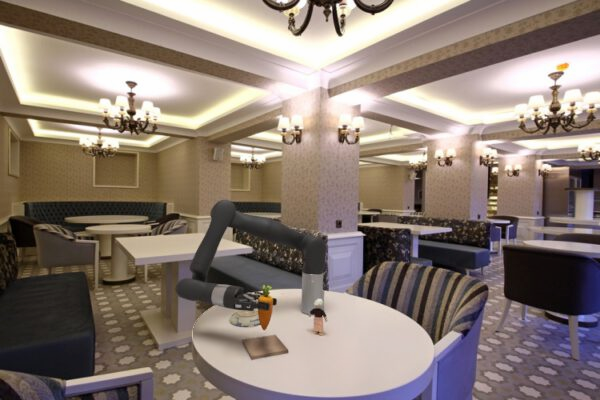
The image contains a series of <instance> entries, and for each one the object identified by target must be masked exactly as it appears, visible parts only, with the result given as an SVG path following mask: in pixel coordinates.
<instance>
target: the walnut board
mask: <svg viewBox="0 0 600 400" xmlns="http://www.w3.org/2000/svg"><path fill="white" fill-rule="evenodd" d="M241 344H242V346H243V347H244V350H245V351H246V352H247V354H248V356H249V358H250V360H252V361H253V360H259V359H263V358H268V357H273V356H279V355H283V354H289V349H288V348H287V346H286V345H285V343H283V341H281V340H280V338H279V337H278V335H276V334H270V335H265V336H264V335H263V336H258V337H252V338H245V339H244V338H243V339H241Z"/></svg>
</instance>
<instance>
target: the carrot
mask: <svg viewBox="0 0 600 400" xmlns="http://www.w3.org/2000/svg"><path fill="white" fill-rule="evenodd" d="M272 288H273V287H272V286H270V285H267V286H266V285H265V284H263V285H262V293H263V294H264V295H262V296H260V297H259V298H258V300H257V301H259V302H266V303H269V304H270V309H269V310H268V311H267V310H262V309H257V311H258V316H259V322H260V324H259V325H260V326H261V329H262V330H263V331H266V330H267V328H268V327H269V324H270V322H271V318H272V314H273V309H274V308H273V307H274V305H273V298H274V297H272V296H271V295H270V294H271V292H270V290H271V289H272ZM259 302H258V303H259Z"/></svg>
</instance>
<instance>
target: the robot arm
mask: <svg viewBox="0 0 600 400" xmlns="http://www.w3.org/2000/svg"><path fill="white" fill-rule="evenodd" d="M209 214H210V215H209V216H210V219H211V220H210V223H209V226H208V228H207V230H206V233H204V234H205V235H204V237H203V238H202V240H201V242H200V244H199V245H198V247H197V250H196V251H195V253H194V256H193V258H192V261H191V262H190V264H189V271H190V272H191V273H192V276H191V278H189V277H185V278H181V279H180V280H179V281H178V282H177V283H176V285H175V288H174V289H175V293H176V295H177V297H179V298H181V299H184V300H187V301H191V302H195V301H199V302H202V303H204V304H208V305H213V306H217V307H220V308H224V309H225V308H226V309H229V310H236V311H239V310H245V311H254V309H255V310H257V311H258V309H262V310H267V311H268V310H269V309H270V304H269V303H266V302H259V301H258V298H259V297H260V296H262V295H264V294H263V291H262V292H261V291H257V290H254V291H253V292H247V293H246V291H245V289H244V288H243V287H242V286H237V285H236V286H235V285H230V284H219V283H214V282H213V283H212V282H207V281H208V280H207V279H208V274H209V270H210V268H211V266H212V263H213V262H214V259H215V256H216V254H217V251H218V248H219V246H220V243H221V241H222V238H223V237H224V235H225V233H226V231H227V229H228V228H231V229H235V230H239V231H241V232H244V233H246V234H249V235H250V236H253V237H255V238H258V239H260V240H263V241H266V242H269V243H272V244H276V245H280V246H287V247H290V248H292V249H295V250H297V251H299V252H301V253H303V254H305V262H304V264H303V266H302V273H301V276H302V278H301V303H300V304H301V305H300V307H301V308H300V311H301V312H302V313H303V314H306V315H309V313H310V311H311V310H312V309H314V308H316V306H315V305H314V302H315V301H316V300H317V299H322V300H323V304H322V308H320V309H322V310H324V311H325V290H324V289H323V287H324V284H323V283H324V269H325V267H326V259H327V258H326V257H327V256H326V255H327V246H326V245H327V244H326V242H325V240H324V239H323V238H321V237H320V236H316V235H311V234H306V233H304V232H303V233H302V232H299V231H296V230H294V229H292V228H290V227H288V225H285V224H283V223H281V222H279V221H276V220H274V219H271V218H268V217H265V216H259V215H252V214H247V213H243V212H241V211H239V210H237V208H236V205H235V203H233V202H232V201H231V200H229V199H221V200H219V201H216V202H215V203H214V205H213V207H212V208H211V210H210V211H209ZM272 298H273V307H274V306H276V305H278V299H277V298H276V297H275V298H274V297H272ZM258 302H259V303H258ZM313 315H314V316H315V314H312V315H311V316H313Z"/></svg>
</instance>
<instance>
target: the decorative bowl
mask: <svg viewBox="0 0 600 400" xmlns="http://www.w3.org/2000/svg"><path fill="white" fill-rule="evenodd" d="M228 323H229V324H230V325H232V326H234V327H239V328H253V327H258V326H259V325H260V322H259V316H258V309H257V310H255V309H254V311H245V310H237V311H236V312H234V313H233V314H232V315H231V316H230V318H229V319H228Z"/></svg>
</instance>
